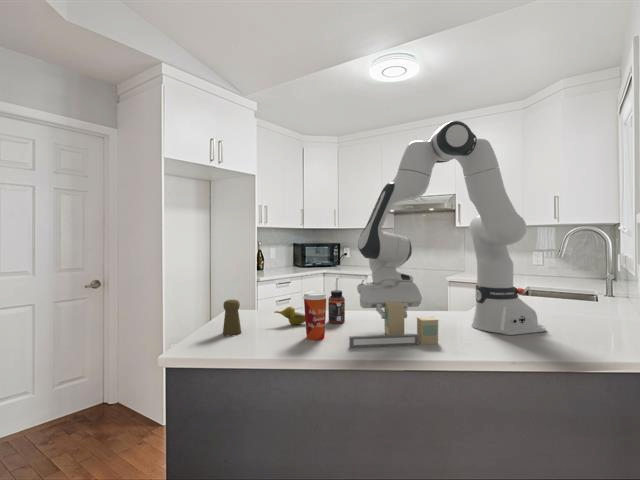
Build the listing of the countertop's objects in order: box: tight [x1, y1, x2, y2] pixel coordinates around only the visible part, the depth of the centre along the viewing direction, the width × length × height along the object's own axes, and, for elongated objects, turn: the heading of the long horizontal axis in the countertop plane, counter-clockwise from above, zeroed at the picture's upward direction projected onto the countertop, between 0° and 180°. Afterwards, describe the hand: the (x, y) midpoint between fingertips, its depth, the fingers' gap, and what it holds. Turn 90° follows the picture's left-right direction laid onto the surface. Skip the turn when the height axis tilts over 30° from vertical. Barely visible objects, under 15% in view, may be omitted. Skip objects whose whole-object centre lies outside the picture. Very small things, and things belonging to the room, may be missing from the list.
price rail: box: [348, 333, 419, 349], centre depth 108 cm, size 20×1×3 cm, turn 95°
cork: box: [222, 299, 242, 337], centre depth 122 cm, size 6×6×11 cm
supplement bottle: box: [327, 289, 346, 324], centre depth 136 cm, size 6×6×11 cm
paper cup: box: [302, 290, 328, 341], centre depth 117 cm, size 8×8×14 cm
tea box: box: [416, 316, 439, 345], centre depth 112 cm, size 5×4×7 cm
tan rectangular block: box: [383, 302, 405, 335], centre depth 119 cm, size 5×5×10 cm
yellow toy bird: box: [273, 306, 306, 326], centre depth 132 cm, size 4×15×6 cm, turn 98°
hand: (394, 317), depth 118 cm, fingers closed on tan rectangular block, 5 cm apart
